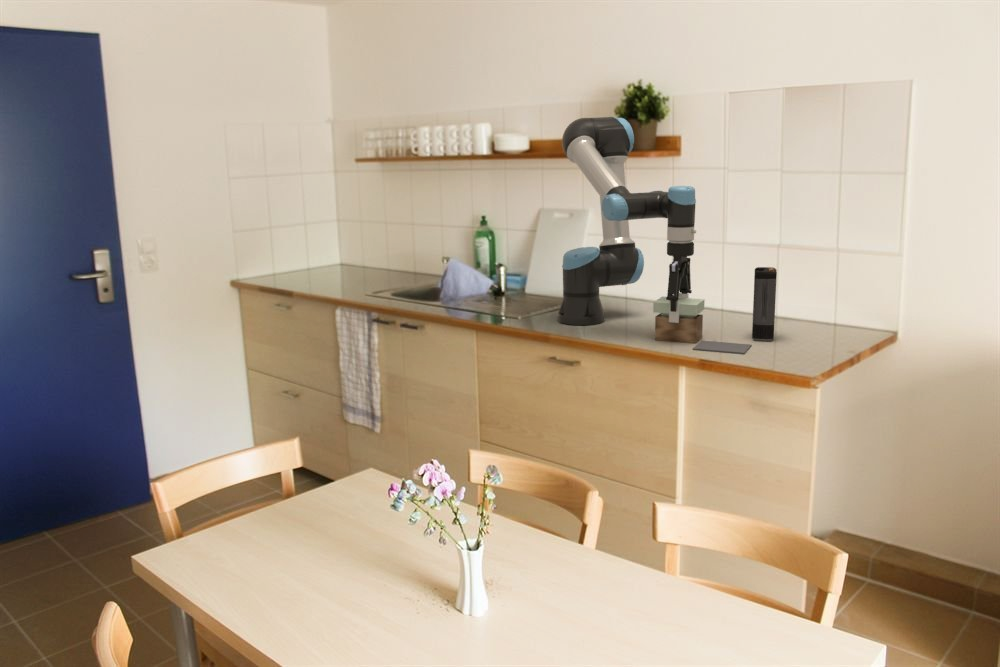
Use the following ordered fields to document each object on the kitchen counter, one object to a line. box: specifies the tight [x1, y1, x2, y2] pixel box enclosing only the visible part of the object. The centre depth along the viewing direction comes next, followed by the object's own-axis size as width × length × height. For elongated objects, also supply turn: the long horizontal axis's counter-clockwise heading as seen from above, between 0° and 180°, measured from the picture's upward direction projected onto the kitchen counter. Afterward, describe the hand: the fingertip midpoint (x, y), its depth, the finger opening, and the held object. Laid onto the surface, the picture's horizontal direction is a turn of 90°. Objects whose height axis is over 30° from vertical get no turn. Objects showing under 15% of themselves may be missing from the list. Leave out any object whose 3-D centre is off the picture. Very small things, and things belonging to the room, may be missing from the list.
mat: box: [692, 340, 753, 355], centre depth 235 cm, size 14×10×1 cm
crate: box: [654, 313, 704, 344], centre depth 245 cm, size 12×7×7 cm, turn 63°
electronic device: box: [751, 266, 778, 342], centre depth 243 cm, size 9×6×20 cm, turn 163°
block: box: [652, 296, 706, 319], centre depth 244 cm, size 12×9×4 cm
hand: (678, 318), depth 245 cm, fingers closed on block, 9 cm apart
